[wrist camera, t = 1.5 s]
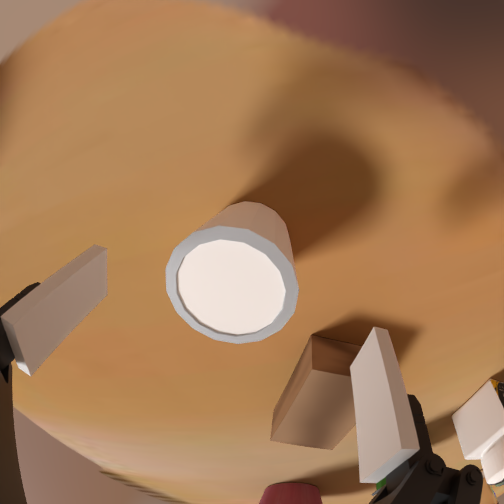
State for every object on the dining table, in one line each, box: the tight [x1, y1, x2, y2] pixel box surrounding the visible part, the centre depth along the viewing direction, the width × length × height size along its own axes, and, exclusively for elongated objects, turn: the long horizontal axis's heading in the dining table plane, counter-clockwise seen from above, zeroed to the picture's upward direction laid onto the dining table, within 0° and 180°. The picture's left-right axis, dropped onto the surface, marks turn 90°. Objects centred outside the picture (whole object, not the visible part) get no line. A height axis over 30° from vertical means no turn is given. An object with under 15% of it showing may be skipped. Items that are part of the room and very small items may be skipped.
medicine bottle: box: [452, 379, 504, 485], centre depth 20 cm, size 7×7×12 cm
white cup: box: [166, 201, 299, 344], centre depth 18 cm, size 7×7×7 cm
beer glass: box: [480, 469, 499, 504], centre depth 29 cm, size 7×7×15 cm
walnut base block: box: [270, 335, 362, 450], centre depth 24 cm, size 6×11×4 cm, turn 166°
